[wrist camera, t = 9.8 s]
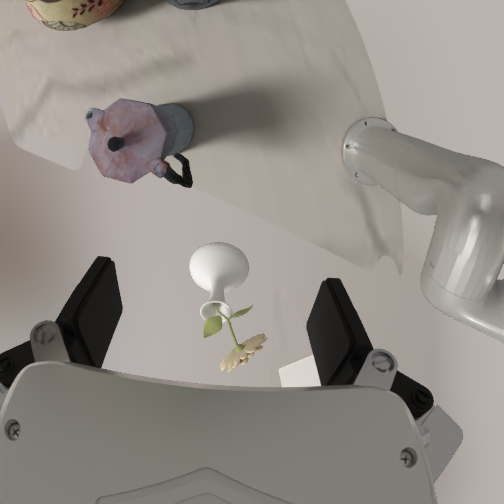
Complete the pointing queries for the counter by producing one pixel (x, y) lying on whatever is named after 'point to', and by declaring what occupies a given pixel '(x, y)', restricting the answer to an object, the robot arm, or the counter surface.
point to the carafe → (193, 4)
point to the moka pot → (140, 140)
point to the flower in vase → (219, 281)
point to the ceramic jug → (71, 12)
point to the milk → (300, 373)
